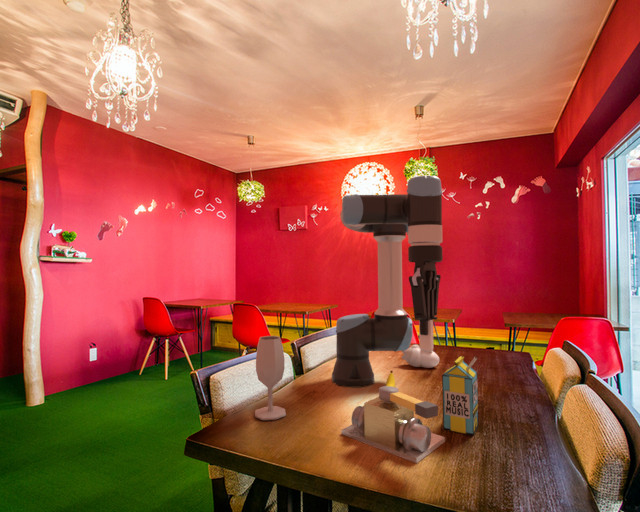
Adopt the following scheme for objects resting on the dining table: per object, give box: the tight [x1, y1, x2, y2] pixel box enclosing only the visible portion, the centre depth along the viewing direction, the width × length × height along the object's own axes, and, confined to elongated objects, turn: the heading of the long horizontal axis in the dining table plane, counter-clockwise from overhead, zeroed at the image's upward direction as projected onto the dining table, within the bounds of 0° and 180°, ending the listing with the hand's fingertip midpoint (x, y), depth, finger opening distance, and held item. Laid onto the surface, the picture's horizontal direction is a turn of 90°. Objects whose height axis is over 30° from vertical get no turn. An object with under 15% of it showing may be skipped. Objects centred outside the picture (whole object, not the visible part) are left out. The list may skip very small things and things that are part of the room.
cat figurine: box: [401, 344, 440, 369], centre depth 151 cm, size 10×8×15 cm
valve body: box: [340, 396, 446, 464], centre depth 87 cm, size 20×13×10 cm, turn 46°
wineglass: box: [254, 335, 287, 421], centre depth 101 cm, size 9×9×21 cm
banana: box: [385, 370, 396, 387], centre depth 112 cm, size 3×19×6 cm, turn 162°
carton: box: [441, 356, 479, 437], centre depth 92 cm, size 7×8×18 cm
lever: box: [378, 385, 439, 420], centre depth 80 cm, size 15×4×2 cm, turn 30°
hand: (426, 348), depth 84 cm, fingers closed
